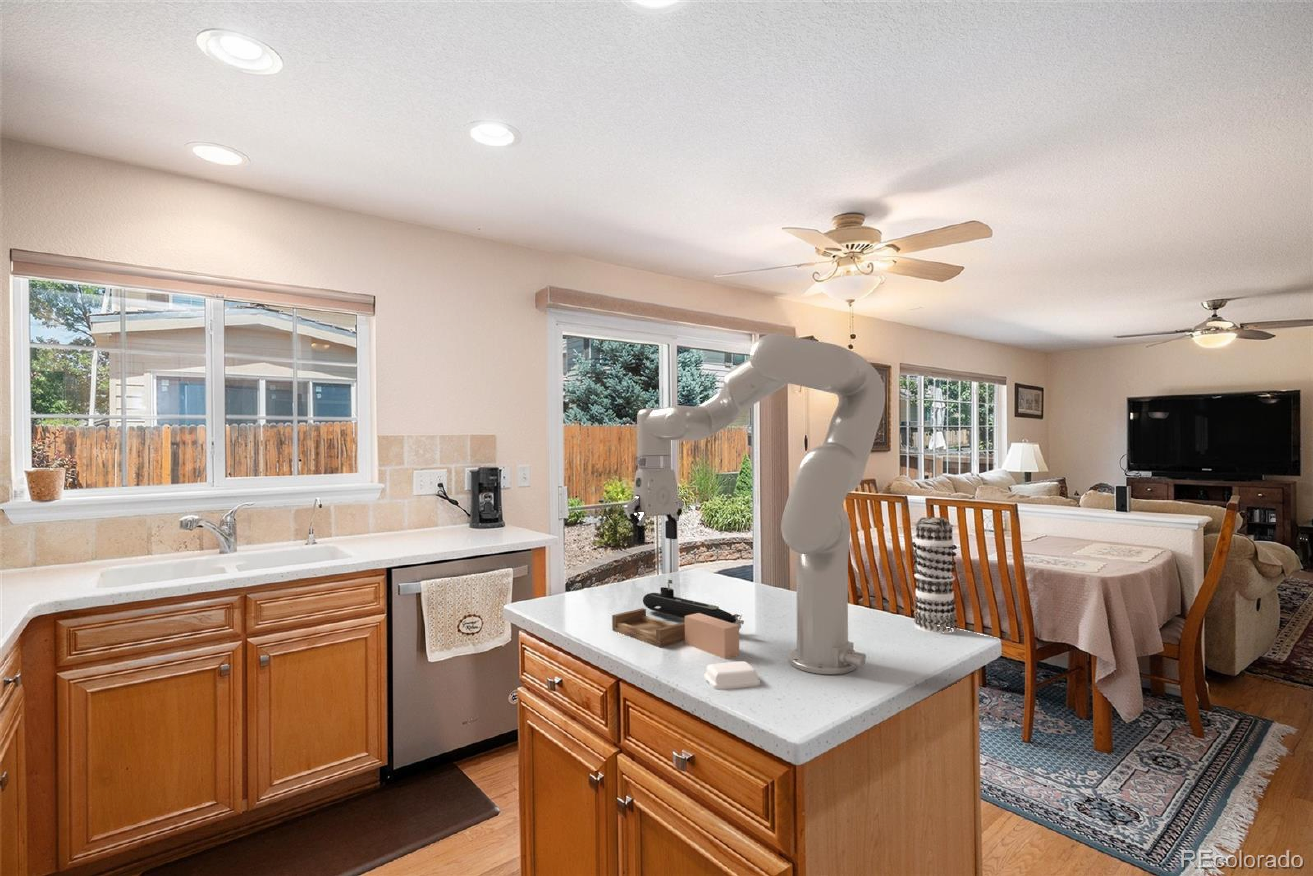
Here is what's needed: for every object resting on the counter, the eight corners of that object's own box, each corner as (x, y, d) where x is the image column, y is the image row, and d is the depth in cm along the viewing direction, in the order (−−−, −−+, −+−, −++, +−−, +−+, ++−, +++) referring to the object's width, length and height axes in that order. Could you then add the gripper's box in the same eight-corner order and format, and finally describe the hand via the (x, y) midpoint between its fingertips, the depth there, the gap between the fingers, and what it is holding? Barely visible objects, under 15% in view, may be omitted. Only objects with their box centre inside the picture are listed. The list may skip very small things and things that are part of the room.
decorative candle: (949, 638, 136) (948, 521, 137) (906, 630, 143) (905, 518, 143) (963, 629, 143) (962, 518, 143) (921, 621, 149) (920, 515, 150)
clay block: (739, 655, 127) (739, 625, 127) (724, 659, 124) (724, 629, 124) (699, 641, 136) (698, 612, 136) (684, 644, 134) (684, 616, 134)
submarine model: (752, 634, 139) (748, 589, 138) (732, 643, 134) (728, 597, 134) (655, 610, 162) (652, 571, 161) (635, 617, 157) (632, 577, 157)
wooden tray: (690, 638, 137) (690, 622, 137) (660, 647, 131) (660, 630, 131) (642, 623, 149) (642, 608, 149) (612, 630, 143) (612, 615, 143)
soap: (748, 673, 117) (748, 657, 117) (763, 687, 111) (762, 670, 111) (701, 677, 115) (701, 661, 115) (713, 692, 108) (713, 675, 108)
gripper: (636, 465, 132) (637, 547, 132) (693, 463, 144) (694, 538, 144) (613, 464, 138) (614, 543, 138) (670, 462, 150) (671, 535, 149)
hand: (655, 541), depth 141 cm, fingers open, 9 cm apart
